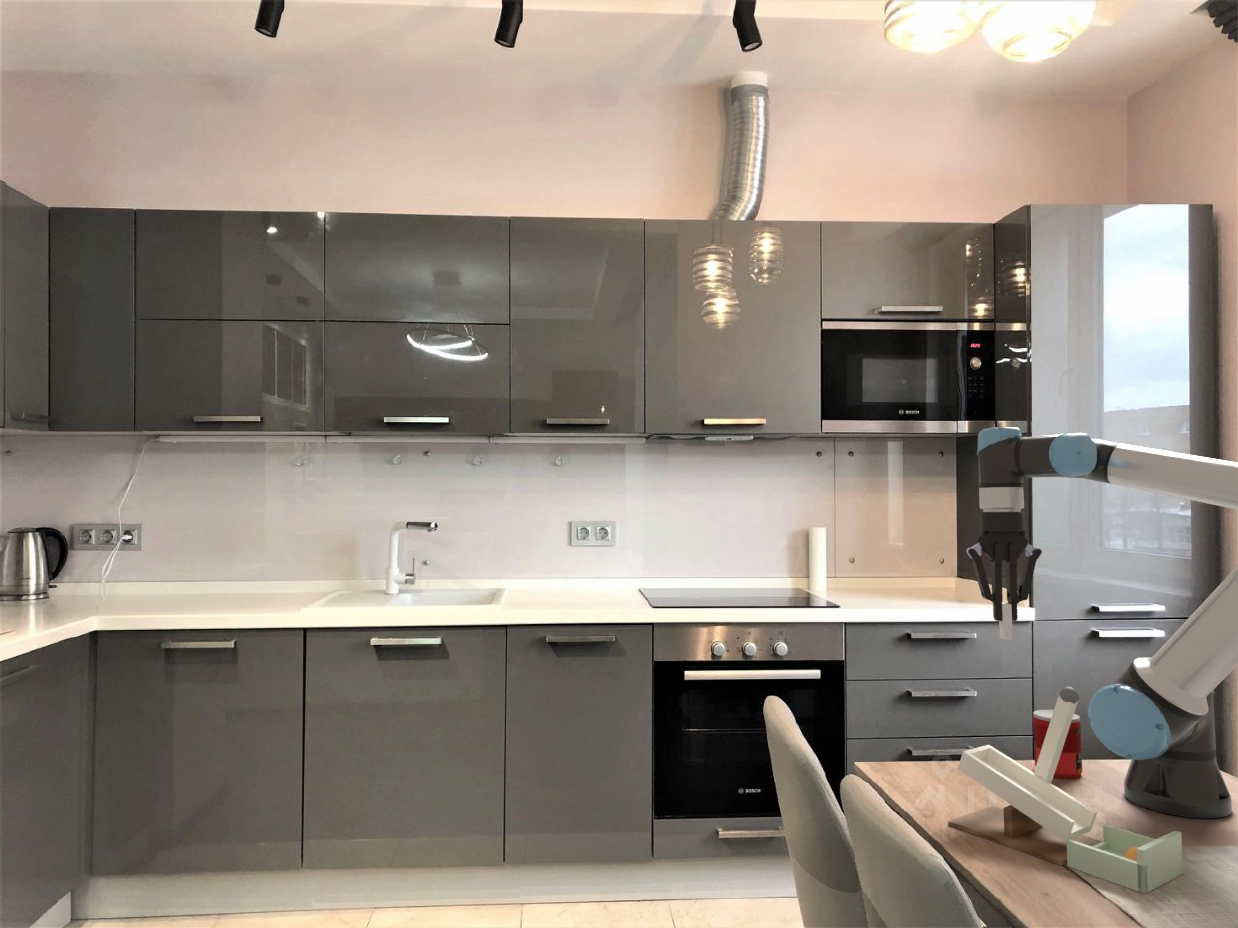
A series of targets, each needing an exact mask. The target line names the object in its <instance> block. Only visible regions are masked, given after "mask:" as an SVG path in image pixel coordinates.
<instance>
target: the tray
mask: <svg viewBox="0 0 1238 928" xmlns="http://www.w3.org/2000/svg"><path fill="white" fill-rule="evenodd" d="M1102 835H1103V836H1102V838H1103V842H1101V843H1099V844H1096V845H1094V846H1092V847H1091V846H1088V845H1085V844H1082V843H1079V842H1076V841H1073V840H1070V839H1069V840H1067V864H1066V865H1067V867H1069V868H1072V869H1074V868H1075V870H1076V871H1077V870H1078V871H1080V872H1083V873H1086V874H1088V875H1092V876H1094V877H1096V878H1099V877H1100V879H1102V878H1103V879H1102V880H1105V881H1107V882H1110V881H1111V883H1113V884H1116V885H1119V886H1122V887H1124V886H1125V888H1128V889H1130V890H1133V891H1136V892H1139V893H1141V894H1143V895H1144V894H1145V895H1146V894H1148V893H1150V892H1151V891H1154V890H1156V889H1157V888H1159V887H1160V886H1163V885H1165V884H1167V883H1168V882H1170V881H1172V880H1173V879H1175V878H1177V877H1179V876H1181V875H1183V874H1184V866H1183V865H1184V864H1183V844H1182V843H1183V842H1182V839H1183V838H1182V832H1181V831H1178V830H1173V831H1170V832H1169V833H1167V834H1165V835H1162V836H1160V837H1158V838H1152V837H1150V836H1146V835H1144V834H1143V835H1142V834H1139V833H1135V832H1132V831H1129V830H1126V829H1124V828H1123V829H1122V828H1119V827H1117V826H1114V825H1110V824H1107V823H1105V824H1103V825H1102ZM1132 847H1139V848H1137V861H1134V860H1131V859H1128V858H1125V854H1126V851H1127V850H1128V849H1129V848H1132Z"/></svg>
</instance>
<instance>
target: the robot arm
mask: <svg viewBox="0 0 1238 928" xmlns="http://www.w3.org/2000/svg"><path fill="white" fill-rule="evenodd" d="M976 455H977V461H978V462H977V466H978V467H977V468H978V489H979V490H978V492H979V497H978V499H979V502H978V503H979V509H981V510H982V511H981V512H980V513H979V532H980V533H979V538H978V539H977V543H976V544H974V545H973V546H971V547H967V548H965V553H966V555H967V556H968V557H969V559H970V560H971V563H972V567H973V569H974V574H975V576H976V580H977V585H978V587H979V591H980V594H981V597H982V599H984V600H987V601H990V602H991V603H992V611H993V612H992V614H993V616H992V617H993V619H994V621H996V622H998V623H999V625H998V626H999V628H998V629H999V639H1001V640H1004V641H1013V640H1014V638H1013V637H1014V636H1013V622H1017V621H1018V604H1019V603H1021V602H1024V601H1027V600H1028V599H1029V595H1030V590H1031V586H1032V581H1033V578H1034V573H1035V568H1036V563H1037V561H1038V559H1039V558H1040V557H1041V555H1042V549H1041V548H1039V547H1038V548H1037V547H1035V546H1033V545H1031V544H1030V543H1029V539H1028V538H1027V536H1026V525H1025V513H1024V512H1022V511H1021V510H1023V509H1024V508H1025V499H1024V495H1025V494H1024V479H1030V478H1071V479H1084V480H1088V481H1089V480H1090V481H1095V482H1099V483H1100V482H1101V483H1103V484H1104V483H1105V484H1110V485H1111V484H1112V485H1114V486H1115V485H1116V486H1121V487H1125V488H1131V489H1136V490H1139V491H1140V490H1141V491H1145V492H1150V493H1155V494H1159V495H1165V496H1169V497H1174V498H1179V499H1184V500H1189V501H1194V502H1199V503H1203V504H1208V505H1213V506H1218V507H1222V508H1227V509H1231V510H1237V511H1238V461H1237V462H1235V461H1229V460H1223V459H1218V458H1211V457H1206V456H1200V455H1193V454H1187V453H1181V452H1174V451H1170V450H1162V449H1157V448H1153V447H1152V448H1149V447H1146V446H1145V447H1144V446H1138V445H1133V444H1127V443H1120V442H1119V443H1118V442H1114V441H1108V440H1106V439H1102V438H1101V439H1100V438H1094V437H1093V438H1092V437H1091V436H1090V435H1089V434H1088V433H1083V432H1075V433H1074V432H1062V433H1060V434H1049V435H1048V434H1047V435H1036V436H1023V434H1022V431H1021V429H1020V428H1019V427H1015V426H1013V427H1012V426H1008V427H1007V426H1004V427H1003V426H1001V427H988V428H984V429H982V430H980V431H979V432H978V435H977V451H976ZM982 551H983V552H982ZM1023 552H1024V555H1025V558H1024V562H1023V566H1022V570H1021V576H1020V579H1019V580H1020V581H1019V585H1018V578H1017V577H1018V576H1017V574H1018V571H1017V570H1018V567H1017V566H1018V559H1019V558H1020V556H1021V555H1022V553H1023ZM982 553H984V555H986V556H987V557H988V559H989V562H990V563H989V564H990V576H991V577H990V578H991V588H990V585H989V580H988V577H987V573H986V570H985V567H984V563H983V560H982V557H981V556H982ZM1003 562H1004V565H1005V582H1006V586H1005V587H1006V601H1007V602H1003V599H1004V598H1003V571H1002V570H1003V569H1002V567H1003ZM1237 666H1238V565H1237V566H1236V567H1234V569H1233V570H1232V571H1231V572H1230V573H1229V574H1228V575H1227V576H1226V577H1225V578H1224V579H1223V580H1222V581H1221V583H1219V585H1218V586H1217V587H1216V588H1215V589H1214V590H1213V591H1212V592H1211V593H1210V594H1209V596H1208V597H1206V598H1205V600H1204V601H1203V602H1202V603H1201V604H1200V605H1199V606H1198V608H1197V609H1196V610H1195V611H1193V613H1192V614H1191V615H1190V616H1189V617H1188V618H1187V619H1186V620H1185V622H1184V623H1183V624H1182V625H1180V627H1179V628H1178V629H1177V630H1176V631H1175V632H1174V633H1173V634H1172V635H1171V636H1170V637H1169V639H1168V640H1167V641H1166V642H1165V643H1164V644H1162V646H1161V647H1160V648H1159V649H1158V651H1157V652H1155V654H1154V655H1153V656H1152V657H1151V656H1150V657H1136V658H1135V659H1134V660H1133V661H1132V662H1131V663H1130V665H1128V667H1127V668H1126V669H1124V671H1123V672H1122V673H1121V674H1120V675H1119V676H1118V677H1117V678H1116V679H1115V680H1114V681H1113V682H1112V683H1111V684H1107V685H1103V687H1101V688H1098V690H1097V691H1096V692H1095V693H1094V695H1093V696H1092V697H1091V699H1090V701H1089V704H1088V709H1087V714H1088V718H1089V723H1090V724H1089V725H1090V726H1091V729H1092V731H1093V733H1094V735H1095V737H1096V738H1097V739H1098V740H1099V741H1100V743H1102V745H1104V747H1106V748H1107V749H1108V750H1110V751H1111V752H1112V753H1114V754H1116V755H1118V756H1120V757H1122V758H1126V759H1128V760H1130V763H1129V766H1128V768H1127V772H1126V774H1125V777H1124V781H1123V790H1124V791H1123V792H1124V793H1123V794H1124V796H1125V798H1126V799H1127V800H1128V801H1130V802H1132V803H1134V804H1135V805H1138V806H1141V807H1142V808H1146V809H1148V810H1152V811H1155V812H1160V813H1162V814H1163V813H1164V814H1166V815H1167V814H1169V815H1173V816H1179V817H1184V818H1185V817H1186V818H1194V819H1195V818H1196V819H1220V818H1225V817H1228V816H1230V815H1231V814H1232V813H1233V808H1232V807H1233V805H1232V802H1233V801H1232V797H1231V794H1230V792H1229V789H1228V787H1227V785H1226V781H1225V779H1224V777H1223V774H1222V772H1221V770H1220V768H1219V765H1218V763H1217V762H1218V761H1217V749H1216V748H1217V747H1216V746H1217V745H1216V729H1215V727H1216V726H1215V703H1214V701H1215V700H1214V695H1215V690H1214V689H1216V688H1217V686H1219V684H1220V683H1222V682H1223V681H1224V680H1225V679H1226V677H1228V675H1230V674H1231V672H1232V671H1233V670H1235V668H1237Z"/></svg>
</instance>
